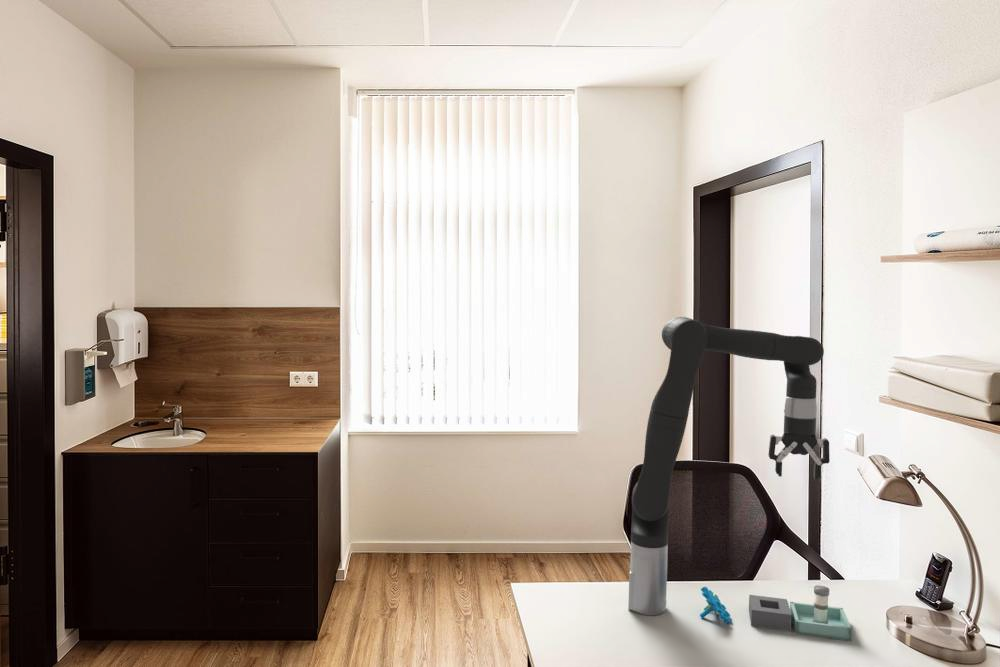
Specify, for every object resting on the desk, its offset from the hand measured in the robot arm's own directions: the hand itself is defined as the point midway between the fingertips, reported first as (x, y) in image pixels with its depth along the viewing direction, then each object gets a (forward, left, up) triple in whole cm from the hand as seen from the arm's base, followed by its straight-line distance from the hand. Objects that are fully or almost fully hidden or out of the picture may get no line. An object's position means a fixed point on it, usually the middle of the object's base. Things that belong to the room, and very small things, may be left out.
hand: (797, 477), depth 182 cm
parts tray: (+5, -10, -34) cm, 36 cm away
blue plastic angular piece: (-19, -13, -34) cm, 41 cm away
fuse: (+5, -10, -33) cm, 35 cm away
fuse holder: (-7, -10, -34) cm, 36 cm away
